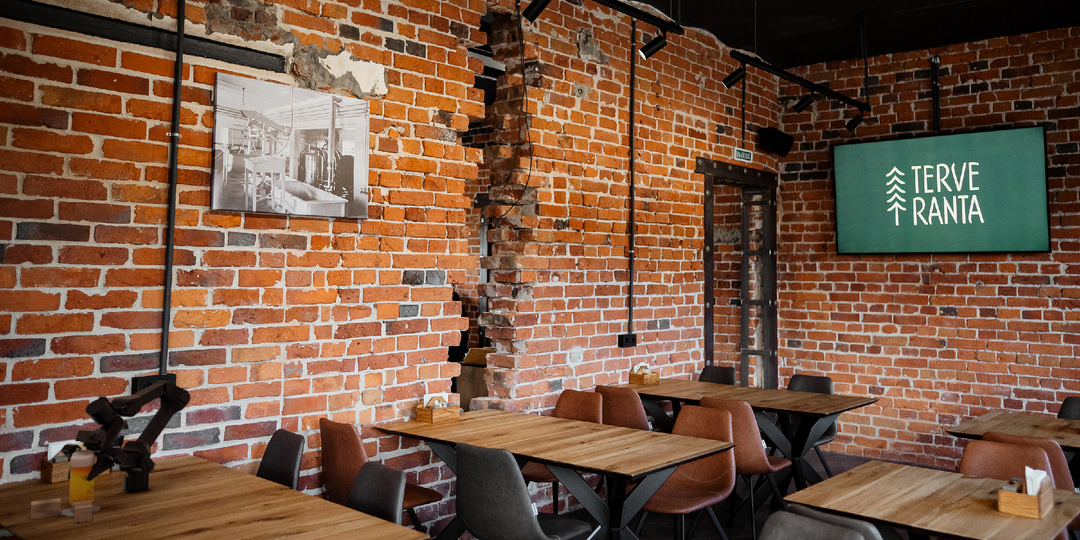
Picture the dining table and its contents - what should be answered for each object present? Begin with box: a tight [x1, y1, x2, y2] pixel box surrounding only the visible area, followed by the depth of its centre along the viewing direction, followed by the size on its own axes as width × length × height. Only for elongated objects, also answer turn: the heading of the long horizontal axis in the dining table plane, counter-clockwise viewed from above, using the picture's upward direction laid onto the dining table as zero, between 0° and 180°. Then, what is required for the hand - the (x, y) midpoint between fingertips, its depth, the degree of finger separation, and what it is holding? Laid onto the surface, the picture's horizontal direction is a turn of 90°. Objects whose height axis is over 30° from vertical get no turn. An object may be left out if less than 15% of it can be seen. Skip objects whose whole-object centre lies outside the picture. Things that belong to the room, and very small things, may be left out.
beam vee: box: [30, 497, 101, 524], centre depth 219 cm, size 15×20×4 cm
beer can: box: [69, 451, 96, 508], centre depth 222 cm, size 6×6×15 cm
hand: (78, 479), depth 221 cm, fingers closed on beer can, 6 cm apart
